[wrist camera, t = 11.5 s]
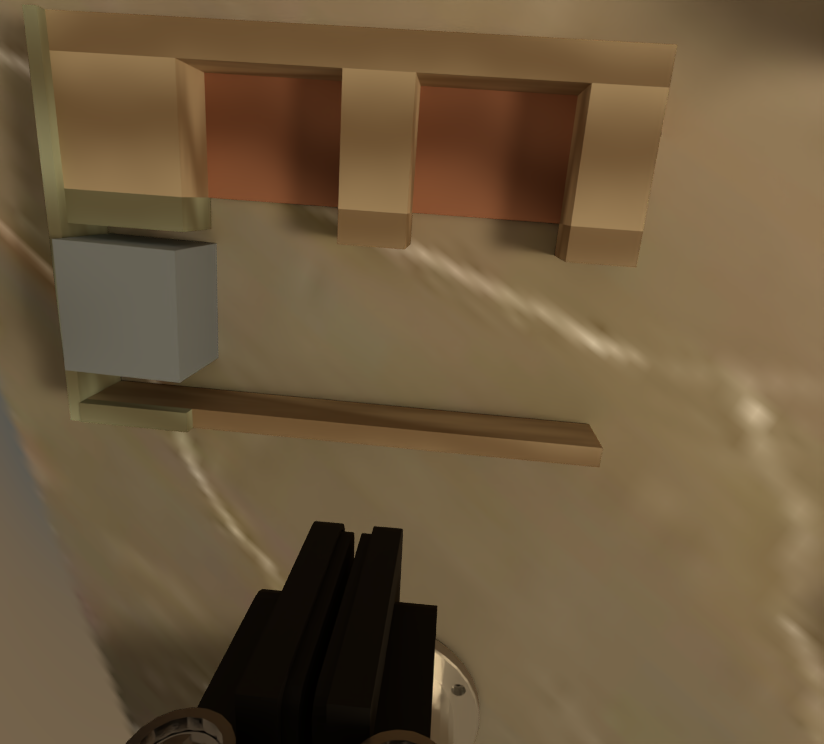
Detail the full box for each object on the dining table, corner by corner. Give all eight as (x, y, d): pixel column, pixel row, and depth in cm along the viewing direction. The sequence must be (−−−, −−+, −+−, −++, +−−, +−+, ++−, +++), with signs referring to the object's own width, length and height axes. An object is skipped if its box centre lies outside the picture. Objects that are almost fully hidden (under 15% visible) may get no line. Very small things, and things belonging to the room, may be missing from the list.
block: (219, 357, 30) (179, 382, 26) (120, 346, 31) (65, 370, 26) (217, 243, 29) (174, 250, 24) (112, 233, 29) (51, 238, 25)
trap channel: (585, 441, 30) (602, 472, 26) (112, 396, 31) (69, 420, 28) (652, 62, 25) (683, 40, 21) (77, 29, 26) (19, 3, 23)
